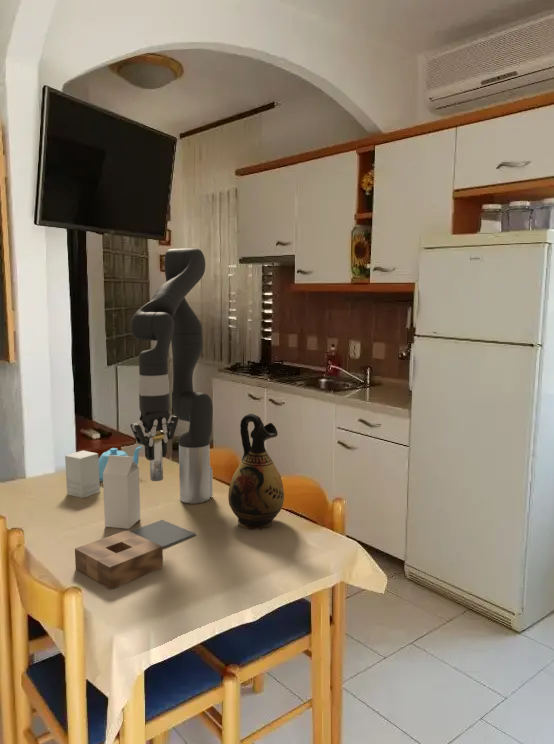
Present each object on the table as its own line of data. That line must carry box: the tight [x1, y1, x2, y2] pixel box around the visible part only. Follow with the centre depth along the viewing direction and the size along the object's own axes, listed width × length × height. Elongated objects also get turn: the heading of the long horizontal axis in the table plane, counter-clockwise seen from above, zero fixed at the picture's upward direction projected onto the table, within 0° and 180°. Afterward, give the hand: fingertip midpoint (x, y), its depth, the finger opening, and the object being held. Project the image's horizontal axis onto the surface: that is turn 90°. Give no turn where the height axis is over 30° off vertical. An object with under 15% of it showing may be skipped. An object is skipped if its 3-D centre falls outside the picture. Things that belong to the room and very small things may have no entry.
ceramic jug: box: [227, 413, 285, 531], centre depth 163 cm, size 17×15×30 cm
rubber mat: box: [129, 519, 197, 549], centre depth 155 cm, size 14×14×1 cm
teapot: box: [98, 445, 143, 483], centre depth 203 cm, size 15×15×10 cm
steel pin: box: [147, 433, 164, 482], centre depth 153 cm, size 4×4×12 cm
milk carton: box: [102, 455, 141, 530], centre depth 163 cm, size 7×7×19 cm
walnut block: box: [74, 529, 164, 590], centre depth 137 cm, size 14×14×5 cm
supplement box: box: [64, 450, 101, 499], centre depth 187 cm, size 7×7×13 cm
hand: (156, 457), depth 153 cm, fingers closed on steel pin, 3 cm apart
